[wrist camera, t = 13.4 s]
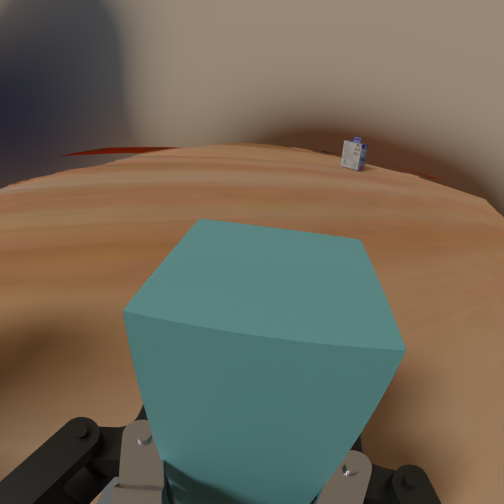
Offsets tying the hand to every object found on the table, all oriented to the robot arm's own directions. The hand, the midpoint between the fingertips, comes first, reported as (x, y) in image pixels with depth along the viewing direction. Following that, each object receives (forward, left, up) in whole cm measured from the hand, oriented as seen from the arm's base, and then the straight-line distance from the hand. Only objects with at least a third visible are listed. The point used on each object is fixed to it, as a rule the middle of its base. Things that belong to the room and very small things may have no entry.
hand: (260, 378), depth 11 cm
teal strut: (0, -3, -8) cm, 8 cm away
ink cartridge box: (+28, +132, -11) cm, 135 cm away
